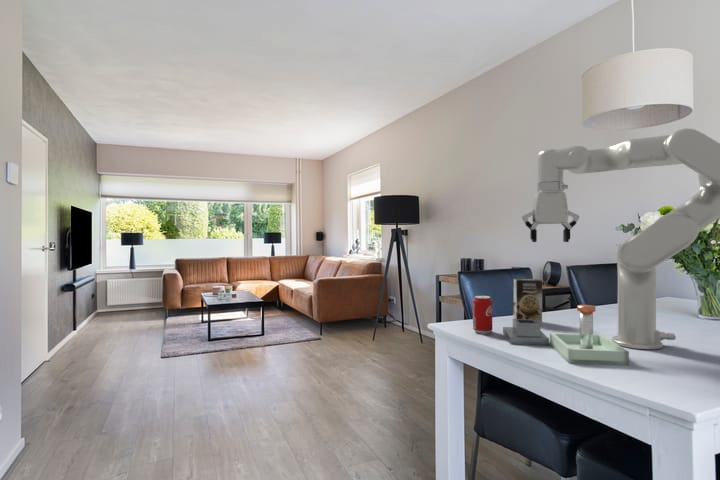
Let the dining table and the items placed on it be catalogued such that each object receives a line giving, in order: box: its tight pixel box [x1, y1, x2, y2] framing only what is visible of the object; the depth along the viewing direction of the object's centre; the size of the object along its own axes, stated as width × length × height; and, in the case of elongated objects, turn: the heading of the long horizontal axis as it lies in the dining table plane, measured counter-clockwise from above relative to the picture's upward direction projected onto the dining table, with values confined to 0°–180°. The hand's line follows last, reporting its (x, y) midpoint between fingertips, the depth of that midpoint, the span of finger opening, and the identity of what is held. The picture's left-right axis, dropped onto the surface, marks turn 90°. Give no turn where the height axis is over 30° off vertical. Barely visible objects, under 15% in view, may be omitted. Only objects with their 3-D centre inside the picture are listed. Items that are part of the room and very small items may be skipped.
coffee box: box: [512, 278, 543, 325], centre depth 157 cm, size 9×6×16 cm
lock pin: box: [576, 304, 596, 349], centre depth 115 cm, size 4×4×12 cm
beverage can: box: [472, 295, 493, 335], centre depth 142 cm, size 6×6×12 cm
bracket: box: [502, 318, 550, 346], centre depth 133 cm, size 11×14×6 cm
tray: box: [549, 332, 630, 366], centre depth 115 cm, size 14×18×4 cm
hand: (550, 241), depth 136 cm, fingers open, 9 cm apart
